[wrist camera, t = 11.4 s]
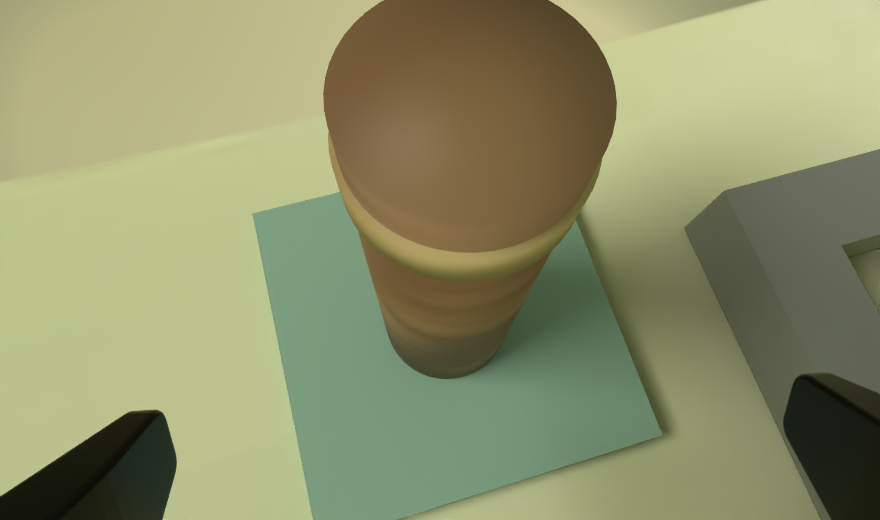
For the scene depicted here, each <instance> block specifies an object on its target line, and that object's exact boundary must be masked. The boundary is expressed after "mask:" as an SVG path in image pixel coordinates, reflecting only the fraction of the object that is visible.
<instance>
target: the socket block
mask: <svg viewBox="0 0 880 520" xmlns="http://www.w3.org/2000/svg"><path fill="white" fill-rule="evenodd" d="M685 230H686V232H687V235H688V237H689V239H690V241H691V243H692V245H693V247H694V249H695V252H696V254H697V256H698V258H699V260H700V262H701V264H702V266H703V269H704V271H705V273H706V275H707V277H708V279H709V281H710V284H711V286H712V288H713V290H714V292H715V294H716V296H717V298H718V301H719V303H720V305H721V307H722V309H723V311H724V313H725V315H726V318H727V320H728V322H729V324H730V326H731V328H732V330H733V332H734V335H735V337H736V339H737V341H738V343H739V345H740V347H741V349H742V352H743V354H744V356H745V358H746V360H747V362H748V364H749V366H750V369H751V371H752V373H753V375H754V377H755V379H756V381H757V384H758V386H759V388H760V390H761V392H762V394H763V396H764V398H765V401H766V403H767V405H768V407H769V409H770V411H771V413H772V415H773V418H774V420H775V422H776V424H777V426H778V428H779V430H780V432H781V435H782V437H783V439H784V441H785V443H786V445H787V447H788V449H789V452H790V454H791V456H792V458H793V460H794V462H795V464H796V467H797V469H798V471H799V473H800V475H801V477H802V479H803V481H804V484H805V486H806V488H807V490H808V492H809V494H810V496H811V498H812V501H813V503H814V505H815V507H816V509H817V511H818V513H819V515H820V518H821V520H831V519H830V517H829V516H828V514H827V512H826V510H825V508H824V506H823V504H822V503H821V501H820V499H819V497H818V495H817V493H816V491H815V490H814V488H813V486H812V484H811V482H810V480H809V478H808V477H807V475H806V473H805V471H804V469H803V467H802V465H801V464H800V462H799V460H798V458H797V456H796V454H795V453H794V451H793V449H792V447H791V445H790V443H789V441H788V440H787V438H786V435H785V432H784V428H783V417H784V413H785V410H786V406H787V402H788V399H789V395H790V392H791V388H792V385H793V382H794V380H795V379H796V377H797V376H799V375H801V374H806V373H831V374H834V375H836V376H839V377H841V378H844V379H846V380H848V381H851V382H853V383H856V384H858V385H860V386H863V387H865V388H868V389H870V390H872V391H875V392H877V393H880V313H879V312H878V310H877V308H876V306H875V304H874V303H873V301H872V299H871V297H870V296H869V294H868V292H867V290H866V288H865V287H864V285H863V283H862V281H861V280H860V278H859V276H858V274H857V272H856V271H855V269H854V267H853V265H852V264H851V262H850V260H849V258H848V257H851V256H854V255H857V254H861V253H864V252H868V251H871V250H875V249H878V248H880V149H879V150H875V151H872V152H868V153H864V154H860V155H857V156H853V157H849V158H845V159H842V160H838V161H834V162H830V163H827V164H823V165H819V166H815V167H812V168H808V169H804V170H800V171H797V172H793V173H789V174H785V175H782V176H778V177H774V178H771V179H767V180H763V181H759V182H756V183H752V184H748V185H744V186H741V187H737V188H733V189H729V190H726V191H724V192H723V193H721V194H720V195H719V196H718V197H717V198H716V199H715V200H714V201H713V202H712V203H711V204H710V205H708V206H707V207H706V208H705V209H704V210H703V211H702V212H701V213H700V214H699V215H698V216H697V217H695V218H694V219H693V220H692V221H691V222H690V223H689V224H688V225H687V226H686V227H685Z"/></svg>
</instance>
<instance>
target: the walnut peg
mask: <svg viewBox="0 0 880 520" xmlns="http://www.w3.org/2000/svg"><path fill="white" fill-rule="evenodd" d="M323 95H324V112H325V116H326V121H327V126H328V130H329V133H328V141H329V154H330V159H331V163H332V168H333V171H334V174H335V177H336V180H337V184H338V187H339V190H340V193H341V197H342V199H343V202H344V205H345V208H346V210H347V212H348V214H349V216H350V218H351V220H352V222H353V224H354V225H355V227H356V228H357V230H358V233H359V237H360V240H361V244H362V247H363V251H364V254H365V257H366V261H367V264H368V268H369V271H370V275H371V278H372V282H373V285H374V289H375V292H376V295H377V299H378V302H379V306H380V309H381V313H382V316H383V320H384V323H385V327H386V330H387V333H388V337H389V339H390V342H391V344H392V346H393V348H394V350H395V352H396V353H397V354H398V356H399V357H400V358H401V359H402V360H403V361H404V363H406V364H407V365H408V366H409V367H411V368H412V369H414V370H415V371H417V372H419V373H421V374H423V375H426V376H429V377H433V378H439V379H454V378H460V377H464V376H467V375H469V374H472V373H474V372H476V371H478V370H479V369H481V368H482V367H483V366H485V365H486V364H487V363H488V362H489V361H490V360H491V359H492V358H493V357H494V355H495V354H496V353H497V351H498V349H499V348H500V346H501V344H502V342H503V340H504V338H505V337H506V335H507V333H508V331H509V329H510V327H511V325H512V324H513V322H514V320H515V318H516V316H517V314H518V312H519V311H520V309H521V307H522V305H523V303H524V301H525V300H526V298H527V296H528V294H529V292H530V290H531V288H532V287H533V285H534V283H535V281H536V279H537V277H538V275H539V274H540V272H541V270H542V268H543V266H544V264H545V262H546V261H547V259H548V257H549V255H550V253H551V251H552V250H553V249H554V248H555V247H556V246H557V245H558V244H559V243H560V242H561V241H562V239H563V238H564V237H565V235H566V234H567V233H568V232H569V230H570V229H571V227H572V225H573V223H574V222H575V220H576V218H577V216H578V215H579V213H580V211H581V209H582V208H583V206H584V204H585V202H586V200H587V199H588V197H589V195H590V193H591V192H592V190H593V188H594V185H595V183H596V180H597V177H598V175H599V171H600V166H601V162H602V157H603V155H604V153H605V151H606V150H607V147H608V144H609V142H610V139H611V137H612V134H613V129H614V125H615V120H616V106H617V101H616V91H615V85H614V81H613V77H612V73H611V70H610V68H609V65H608V63H607V61H606V58H605V56H604V54H603V53H602V51H601V49H600V48H599V46H598V44H597V43H596V41H595V40H594V39H593V38H592V36H591V35H590V34H589V33H588V31H587V30H586V29H585V28H584V27H583V26H582V25H581V24H580V23H579V22H578V21H577V20H576V19H575V18H573V17H572V16H571V15H570V14H568V13H567V12H566V11H564V10H563V9H562V8H560V7H559V6H557V5H555V4H554V3H552V2H550V1H549V0H384V1H382V2H380V3H379V4H377V5H376V6H375V7H373V8H371V9H370V10H369V11H367V12H366V13H365V14H364V15H363V16H362V17H360V18H359V19H358V20H357V21H356V22H355V23H354V24H353V25H352V27H351V28H350V29H349V30H348V31H347V32H346V34H345V35H344V36H343V38H342V39H341V41H340V43H339V44H338V46H337V48H336V49H335V51H334V54H333V56H332V58H331V60H330V63H329V66H328V70H327V73H326V77H325V84H324V93H323Z"/></svg>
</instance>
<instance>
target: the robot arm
mask: <svg viewBox="0 0 880 520" xmlns="http://www.w3.org/2000/svg"><path fill="white" fill-rule="evenodd" d="M783 428H784V432H785V435H786V438H787V440H788V441H789V443H790V445H791V447H792V449H793V451H794V453H795V454H796V456H797V458H798V460H799V462H800V464H801V465H802V467H803V469H804V471H805V473H806V475H807V477H808V478H809V480H810V482H811V484H812V486H813V488H814V490H815V491H816V493H817V495H818V497H819V499H820V501H821V503H822V504H823V506H824V508H825V510H826V512H827V514H828V516H829V517H830V519H831V520H880V393H877V392H875V391H872V390H870V389H868V388H865V387H863V386H860V385H858V384H856V383H853V382H851V381H848V380H846V379H844V378H841V377H839V376H836V375H834V374H831V373H806V374H801V375H799V376H797V377H796V379H795V380H794V382H793V385H792V388H791V392H790V395H789V399H788V402H787V406H786V410H785V413H784V417H783ZM176 464H177V460H176V453H175V449H174V446H173V442H172V439H171V435H170V431H169V428H168V424H167V421H166V418H165V416H164V414H163V413H162V412H161V411H159V410H141V411H131V412H128V413H126V414H125V415H123V416H121V417H120V418H118V419H117V420H115V421H114V422H112V423H111V424H109V425H108V426H106V427H105V428H103V429H102V430H100V431H99V432H97V433H96V434H94V435H93V436H91V437H90V438H88V439H87V440H85V441H84V442H82V443H81V444H79V445H78V446H76V447H75V448H73V449H72V450H70V451H68V452H67V453H65V454H64V455H62V456H61V457H59V458H58V459H56V460H55V461H53V462H52V463H50V464H49V465H47V466H46V467H44V468H43V469H41V470H40V471H38V472H37V473H35V474H34V475H32V476H31V477H29V478H28V479H26V480H25V481H23V482H22V483H20V484H18V485H17V486H15V487H14V488H12V489H11V490H9V491H8V492H6V493H5V494H3V495H2V496H0V520H162V519H163V515H164V512H165V508H166V505H167V501H168V498H169V494H170V490H171V487H172V483H173V480H174V476H175V472H176Z"/></svg>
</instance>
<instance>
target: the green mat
mask: <svg viewBox="0 0 880 520" xmlns="http://www.w3.org/2000/svg"><path fill="white" fill-rule="evenodd" d="M253 218H254V223H255V228H256V233H257V238H258V243H259V248H260V253H261V259H262V264H263V269H264V274H265V279H266V284H267V289H268V294H269V299H270V304H271V309H272V314H273V319H274V324H275V329H276V334H277V339H278V344H279V350H280V355H281V360H282V365H283V370H284V375H285V380H286V385H287V390H288V395H289V400H290V405H291V410H292V415H293V420H294V425H295V430H296V435H297V440H298V446H299V451H300V456H301V461H302V466H303V471H304V476H305V481H306V486H307V491H308V496H309V501H310V506H311V511H312V516H313V520H398V519H401V518H404V517H407V516H411V515H414V514H417V513H420V512H423V511H426V510H430V509H433V508H436V507H439V506H442V505H445V504H448V503H452V502H455V501H458V500H461V499H464V498H467V497H470V496H474V495H477V494H480V493H483V492H486V491H489V490H492V489H496V488H499V487H502V486H505V485H508V484H511V483H514V482H518V481H521V480H524V479H527V478H530V477H533V476H536V475H540V474H543V473H546V472H549V471H552V470H555V469H558V468H562V467H565V466H568V465H571V464H574V463H577V462H580V461H584V460H587V459H590V458H593V457H596V456H599V455H603V454H606V453H609V452H612V451H615V450H618V449H621V448H625V447H628V446H631V445H634V444H637V443H640V442H643V441H647V440H650V439H653V438H656V437H659V436H662V432H661V430H660V427H659V425H658V422H657V420H656V417H655V415H654V412H653V410H652V407H651V405H650V402H649V400H648V397H647V395H646V392H645V390H644V387H643V385H642V382H641V380H640V378H639V375H638V373H637V370H636V368H635V365H634V363H633V360H632V358H631V355H630V353H629V350H628V348H627V345H626V343H625V340H624V338H623V335H622V333H621V330H620V328H619V325H618V323H617V320H616V318H615V316H614V313H613V311H612V308H611V306H610V303H609V301H608V298H607V296H606V293H605V291H604V288H603V286H602V283H601V281H600V278H599V276H598V273H597V271H596V268H595V266H594V263H593V261H592V258H591V256H590V254H589V251H588V249H587V246H586V244H585V241H584V239H583V236H582V234H581V231H580V229H579V226H578V224H577V221H576V220H575V222H574V223H573V225H572V227H571V229H570V230H569V232H568V233H567V234H566V235H565V237H564V238H563V239H562V241H561V242H560V243H559V244H558V245H557V246H556V247H555V248H554V249H553V250H552V251H551V253H550V255H549V257H548V259H547V261H546V262H545V264H544V266H543V268H542V270H541V272H540V274H539V275H538V277H537V279H536V281H535V283H534V285H533V287H532V288H531V290H530V292H529V294H528V296H527V298H526V300H525V301H524V303H523V305H522V307H521V309H520V311H519V312H518V314H517V316H516V318H515V320H514V322H513V324H512V325H511V327H510V329H509V331H508V333H507V335H506V337H505V338H504V340H503V342H502V344H501V346H500V348H499V349H498V351H497V353H496V354H495V355H494V357H493V358H492V359H491V360H490V361H489V362H488V363H487V364H486V365H485V366H483V367H482V368H481V369H479V370H478V371H476V372H474V373H472V374H469V375H467V376H464V377H460V378H454V379H439V378H433V377H429V376H426V375H423V374H421V373H419V372H417V371H415V370H414V369H412V368H411V367H409V366H408V365H407V364H406V363H404V361H403V360H402V359H401V358H400V357H399V356H398V354H397V353H396V352H395V350H394V348H393V346H392V344H391V342H390V339H389V337H388V333H387V330H386V327H385V323H384V320H383V316H382V313H381V309H380V306H379V302H378V299H377V295H376V292H375V289H374V285H373V282H372V278H371V275H370V271H369V268H368V264H367V261H366V257H365V254H364V251H363V247H362V244H361V240H360V237H359V233H358V230H357V228H356V227H355V225H354V224H353V222H352V220H351V218H350V216H349V214H348V212H347V210H346V208H345V205H344V202H343V199H342V197H341V193H340V192H339V193H335V194H331V195H327V196H322V197H318V198H314V199H310V200H306V201H302V202H298V203H294V204H290V205H286V206H282V207H278V208H274V209H270V210H266V211H262V212H257V213H253Z"/></svg>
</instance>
